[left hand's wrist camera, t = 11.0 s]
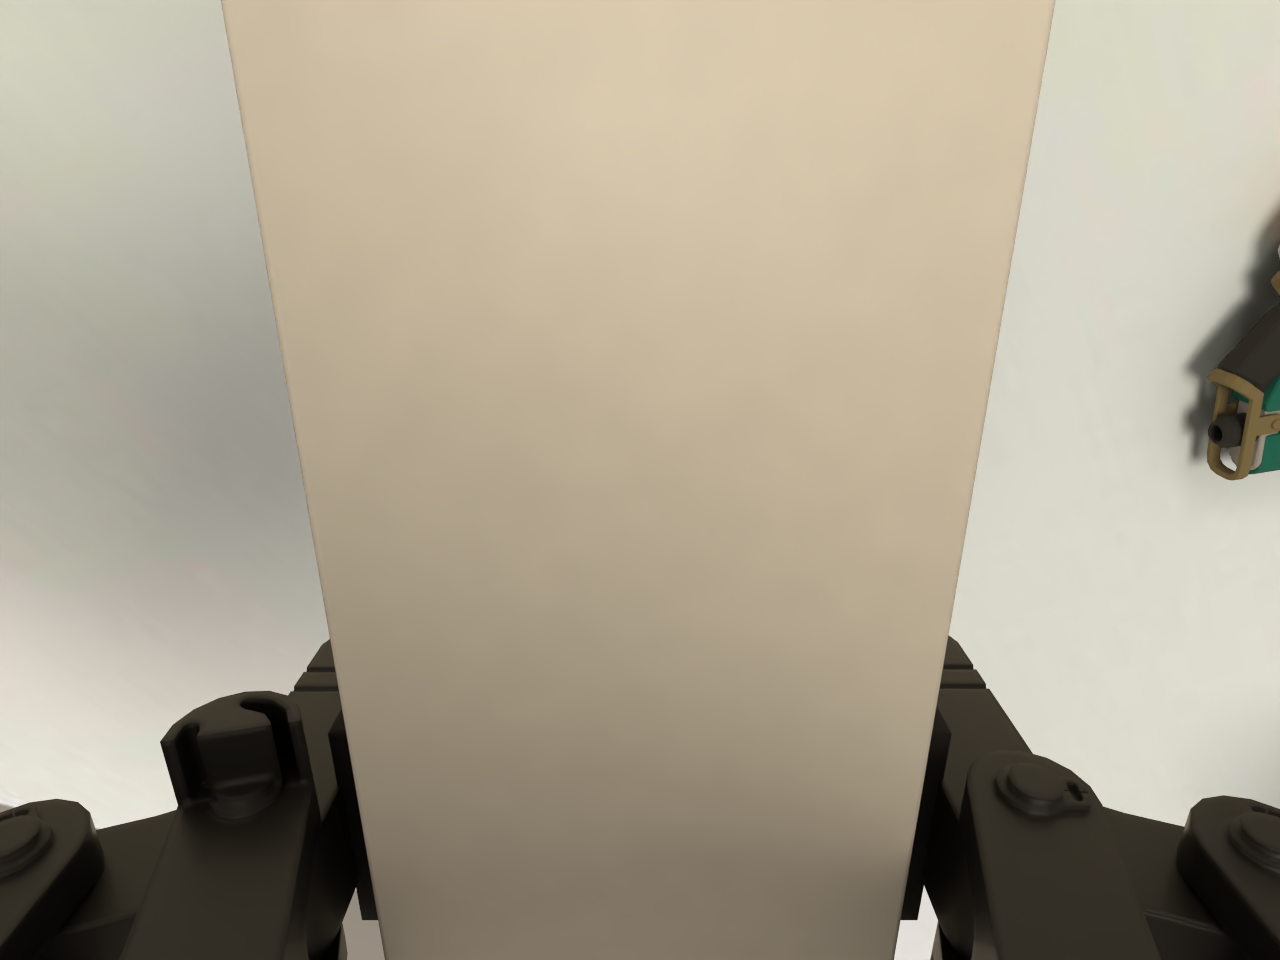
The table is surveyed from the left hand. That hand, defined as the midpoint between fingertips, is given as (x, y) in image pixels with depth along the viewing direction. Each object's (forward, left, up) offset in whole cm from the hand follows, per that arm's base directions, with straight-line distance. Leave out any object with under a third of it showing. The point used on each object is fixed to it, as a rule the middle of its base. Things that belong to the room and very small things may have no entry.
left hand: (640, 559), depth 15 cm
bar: (-6, +17, -1) cm, 18 cm away
